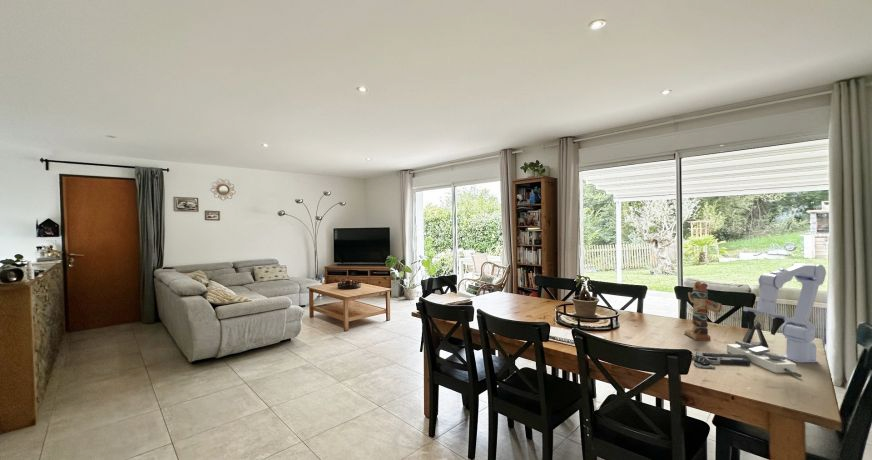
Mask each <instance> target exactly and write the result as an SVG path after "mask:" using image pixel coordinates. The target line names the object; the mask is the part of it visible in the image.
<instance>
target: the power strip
mask: <svg viewBox="0 0 872 460" xmlns="http://www.w3.org/2000/svg"><path fill="white" fill-rule="evenodd" d="M748 349H749V347H743V346H740V345H738V344H735V343H734V344H733V343H731V344H729V343H727V344H726V352H727V353H728V354H741V355H746V356H748V358H749V359H750V363H752V364H755V365H757V366H759V367H762V368H763V369H765V370H768V371H770V372H772V373H789V374H791V375H793V376H796V377H798V378H802V374H801V373H799V372H797V364H796V363H794V362H793V361H791V360H790V361H789V360H787V359H785V360H780V359H774V358H770V357H768V356H765V355H763V353H761V354H755V353H752V352H750V351H749V350H748Z"/></svg>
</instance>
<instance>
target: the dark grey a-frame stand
mask: <svg viewBox="0 0 872 460" xmlns="http://www.w3.org/2000/svg"><path fill="white" fill-rule="evenodd" d="M761 327H762V325H761V323H760V322H759V321H758V320H757V319H755V320H754V324H753V329H752V330H751V329H749V328H747V331H746V332H745V334H744V337H743V339H742V342H745V343H749V344H751V345H754V346H755V347H758V346H763V347H765V348H769V344H768V342H767V340H766V337H765V336H764V333H763V331H762V329H761ZM755 331H756V332H757V335H758V339H759V342H758V341H752V340H753V339H752V338H753V337H754V334H755Z"/></svg>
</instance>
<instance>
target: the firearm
mask: <svg viewBox="0 0 872 460" xmlns="http://www.w3.org/2000/svg"><path fill="white" fill-rule="evenodd" d="M692 360H694V361H693V365H695V367H697V368H701V369H713V370H715V369H716V366H715V365H733V366H734V365H740V366H750V364H751V362H750V359H749V358H748V356H746V355H741V354H731V353H716V352H715V353H711V352H702V351H695V354H693V359H692Z"/></svg>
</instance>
